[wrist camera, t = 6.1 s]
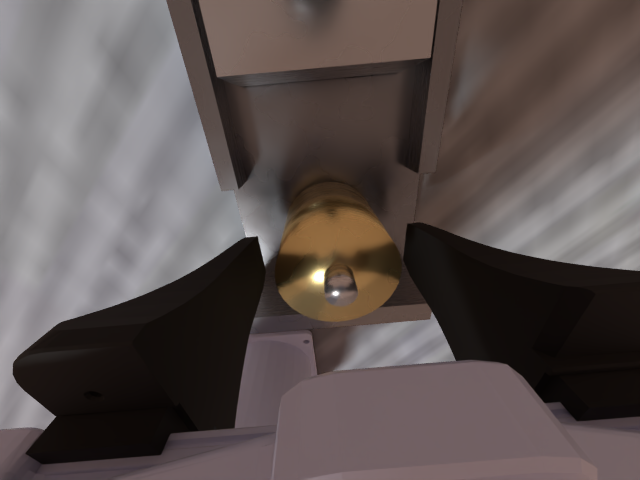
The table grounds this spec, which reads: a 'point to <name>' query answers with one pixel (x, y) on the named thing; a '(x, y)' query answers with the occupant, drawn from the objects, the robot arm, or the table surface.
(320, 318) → the gold bell
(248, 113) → the press frame
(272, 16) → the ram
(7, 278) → the table surface
